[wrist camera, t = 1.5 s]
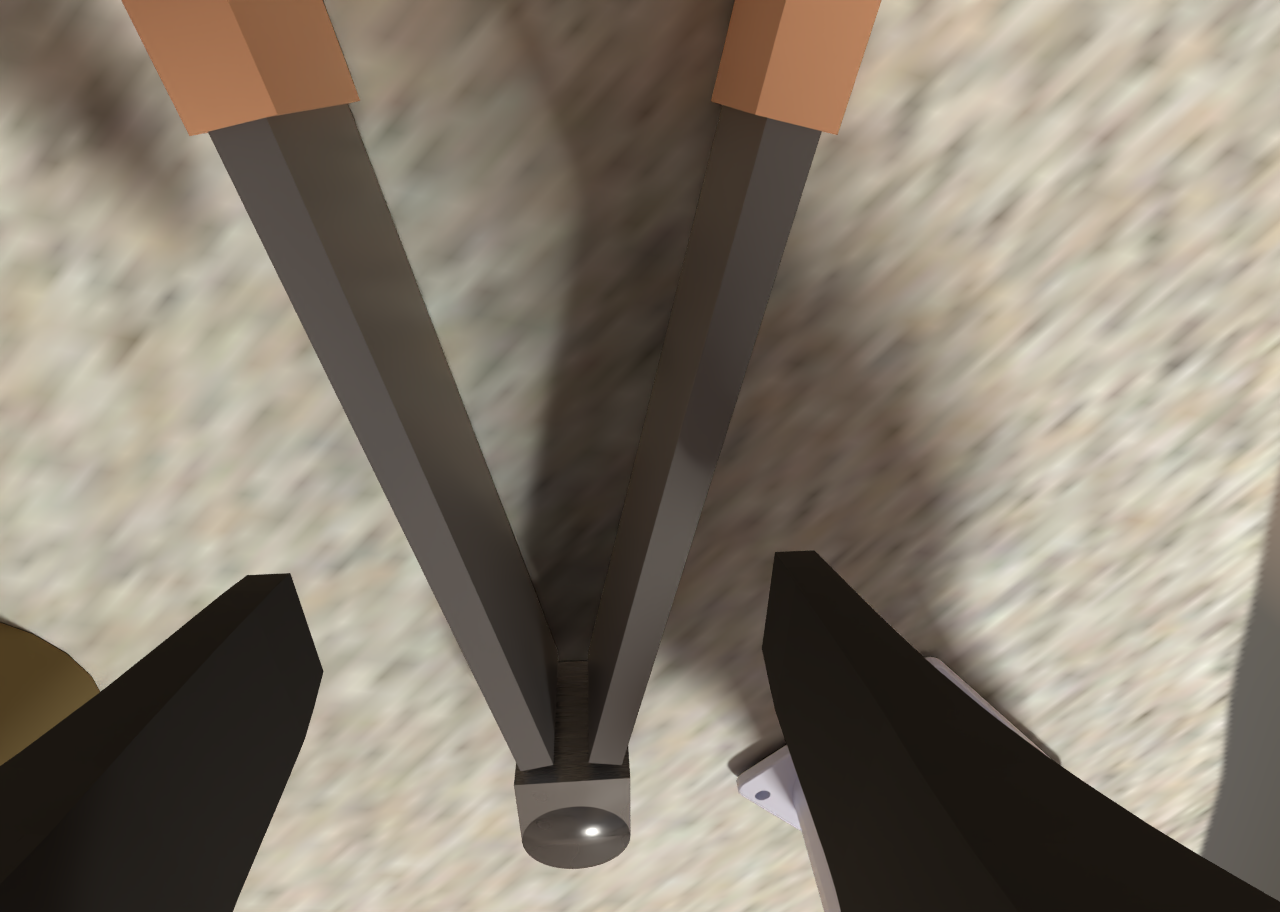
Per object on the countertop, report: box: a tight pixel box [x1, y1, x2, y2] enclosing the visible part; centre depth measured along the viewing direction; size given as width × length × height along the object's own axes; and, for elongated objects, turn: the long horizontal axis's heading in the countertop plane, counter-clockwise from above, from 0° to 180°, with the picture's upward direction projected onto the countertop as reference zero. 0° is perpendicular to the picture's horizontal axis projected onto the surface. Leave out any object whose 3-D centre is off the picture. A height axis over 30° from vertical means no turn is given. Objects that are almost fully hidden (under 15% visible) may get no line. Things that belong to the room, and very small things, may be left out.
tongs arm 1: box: [588, 0, 881, 765], centre depth 13 cm, size 17×1×4 cm, turn 168°
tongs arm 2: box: [122, 0, 558, 771], centre depth 13 cm, size 17×1×4 cm, turn 12°
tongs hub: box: [514, 661, 630, 869], centre depth 19 cm, size 4×3×4 cm
